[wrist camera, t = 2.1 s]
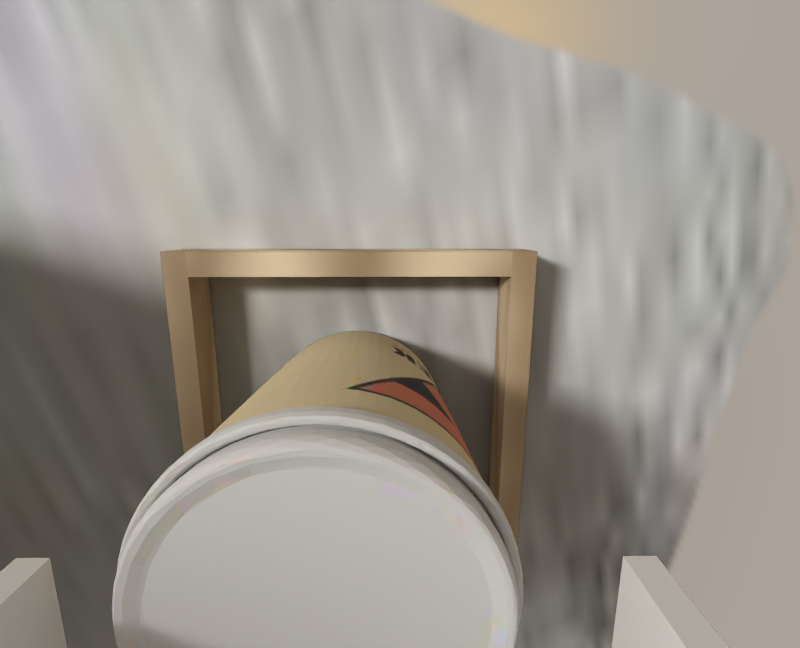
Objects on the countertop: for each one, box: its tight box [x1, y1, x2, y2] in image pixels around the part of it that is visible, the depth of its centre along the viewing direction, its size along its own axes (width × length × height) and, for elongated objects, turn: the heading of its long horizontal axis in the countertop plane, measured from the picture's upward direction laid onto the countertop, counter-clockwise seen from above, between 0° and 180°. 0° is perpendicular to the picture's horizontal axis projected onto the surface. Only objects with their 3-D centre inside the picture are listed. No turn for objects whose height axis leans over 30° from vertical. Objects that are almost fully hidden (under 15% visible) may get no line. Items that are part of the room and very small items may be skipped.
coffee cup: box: [112, 331, 524, 648], centre depth 15 cm, size 9×9×12 cm
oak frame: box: [160, 249, 537, 547], centre depth 20 cm, size 15×15×2 cm
